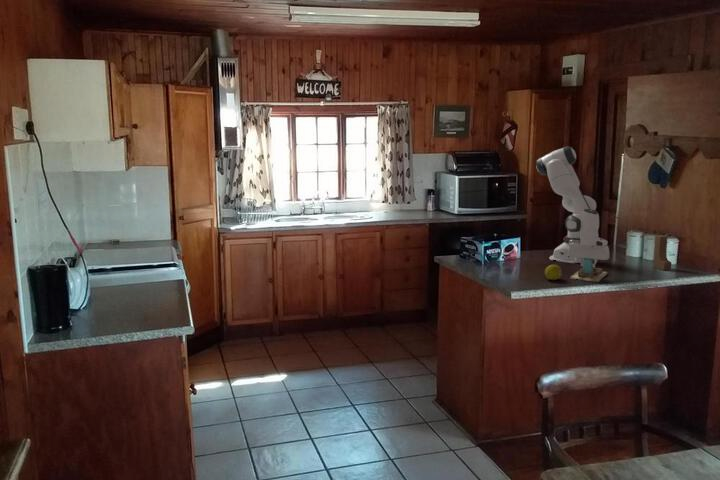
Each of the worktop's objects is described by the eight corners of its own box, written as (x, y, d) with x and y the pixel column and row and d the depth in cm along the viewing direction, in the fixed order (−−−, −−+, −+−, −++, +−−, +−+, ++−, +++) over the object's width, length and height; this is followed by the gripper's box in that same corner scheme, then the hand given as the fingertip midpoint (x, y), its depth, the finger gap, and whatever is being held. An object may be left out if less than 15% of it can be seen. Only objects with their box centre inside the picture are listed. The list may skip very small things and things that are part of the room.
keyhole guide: (570, 278, 327) (570, 273, 326) (580, 271, 343) (580, 265, 343) (598, 281, 319) (598, 276, 319) (607, 273, 336) (607, 268, 335)
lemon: (551, 282, 320) (552, 267, 318) (540, 279, 326) (540, 264, 325) (566, 279, 325) (567, 264, 324) (555, 276, 332) (555, 262, 330)
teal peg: (582, 274, 328) (583, 259, 327) (584, 272, 332) (585, 257, 330) (590, 274, 326) (591, 259, 325) (592, 273, 329) (593, 258, 328)
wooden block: (671, 270, 340) (673, 237, 337) (664, 270, 339) (666, 238, 336) (660, 266, 349) (662, 234, 346) (653, 267, 348) (655, 235, 345)
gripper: (567, 240, 329) (566, 265, 331) (608, 243, 318) (606, 270, 320) (570, 238, 334) (569, 263, 336) (610, 241, 323) (609, 267, 325)
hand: (587, 266), depth 328 cm, fingers closed on teal peg, 4 cm apart
